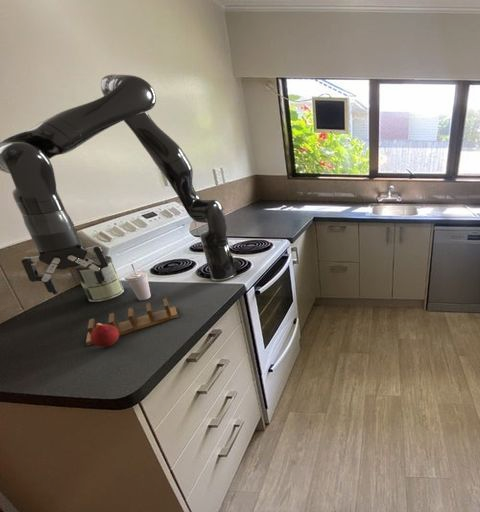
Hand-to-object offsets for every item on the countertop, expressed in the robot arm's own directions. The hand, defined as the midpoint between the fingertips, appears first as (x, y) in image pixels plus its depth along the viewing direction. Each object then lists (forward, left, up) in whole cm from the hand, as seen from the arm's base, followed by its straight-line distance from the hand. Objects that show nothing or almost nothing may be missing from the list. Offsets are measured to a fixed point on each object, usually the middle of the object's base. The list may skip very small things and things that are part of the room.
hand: (79, 287), depth 76 cm
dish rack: (-7, -5, -19) cm, 20 cm away
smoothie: (-10, -25, -19) cm, 33 cm away
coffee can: (+1, -37, -19) cm, 42 cm away
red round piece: (-1, +2, -19) cm, 19 cm away
